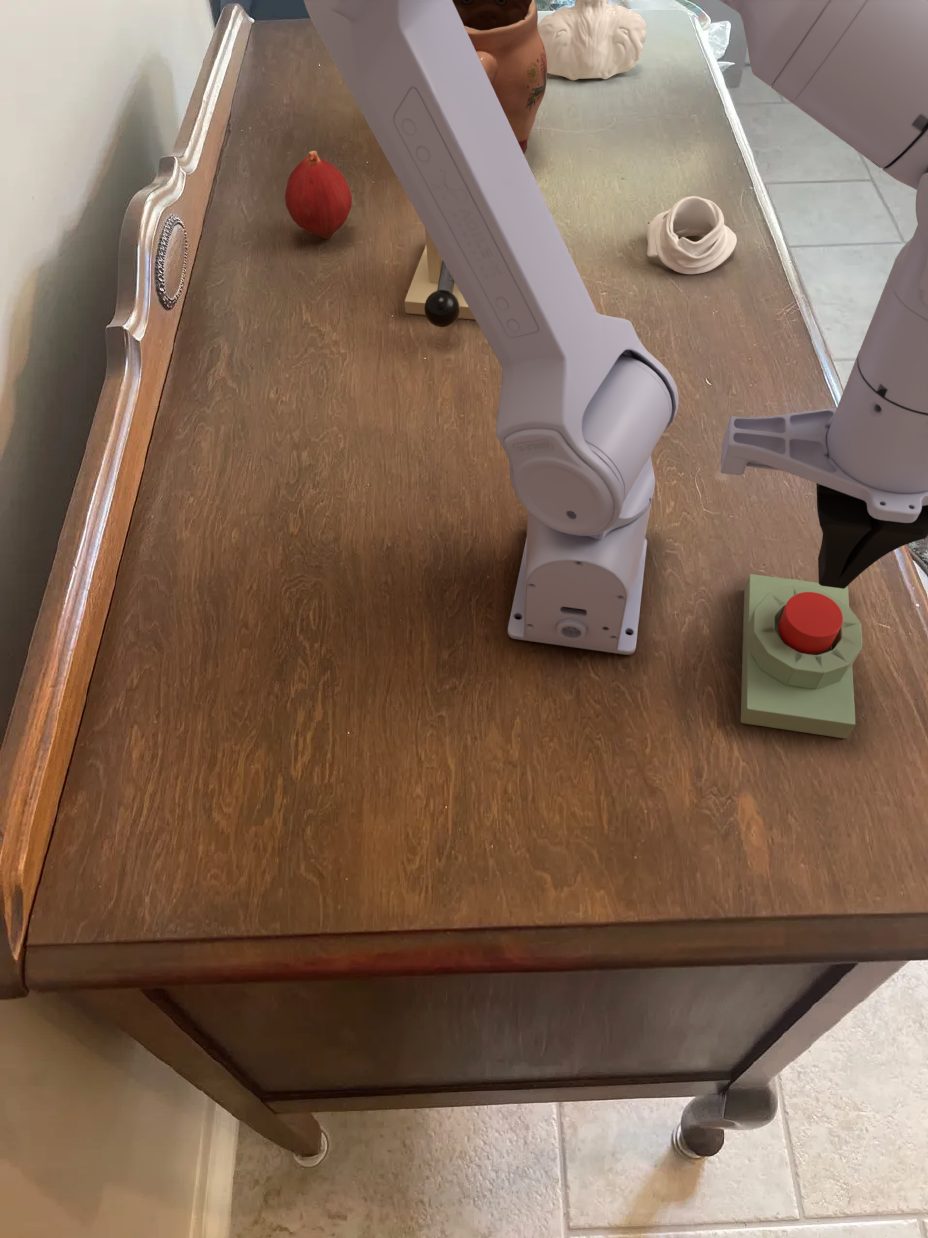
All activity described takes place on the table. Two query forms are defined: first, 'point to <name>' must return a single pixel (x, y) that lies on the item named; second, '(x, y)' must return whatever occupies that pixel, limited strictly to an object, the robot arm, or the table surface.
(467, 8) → the decorative planter
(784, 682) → the button block
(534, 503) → the robot arm
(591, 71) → the bust
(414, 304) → the beige wooden stand
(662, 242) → the beige draped scarf
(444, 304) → the lever
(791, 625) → the button
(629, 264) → the table surface
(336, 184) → the red squash
